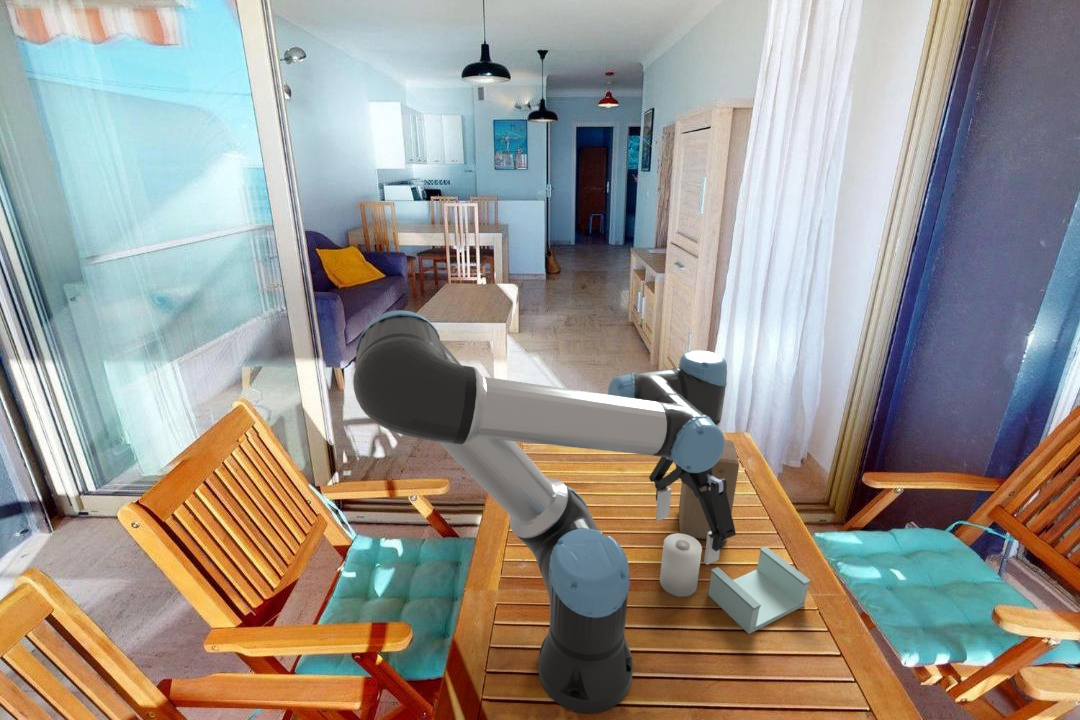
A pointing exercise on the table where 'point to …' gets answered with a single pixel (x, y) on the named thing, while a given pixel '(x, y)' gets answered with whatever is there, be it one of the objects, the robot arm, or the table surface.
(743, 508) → the table surface
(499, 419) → the robot arm
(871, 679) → the table surface
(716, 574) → the cradle
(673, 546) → the roll
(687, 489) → the wooden block
